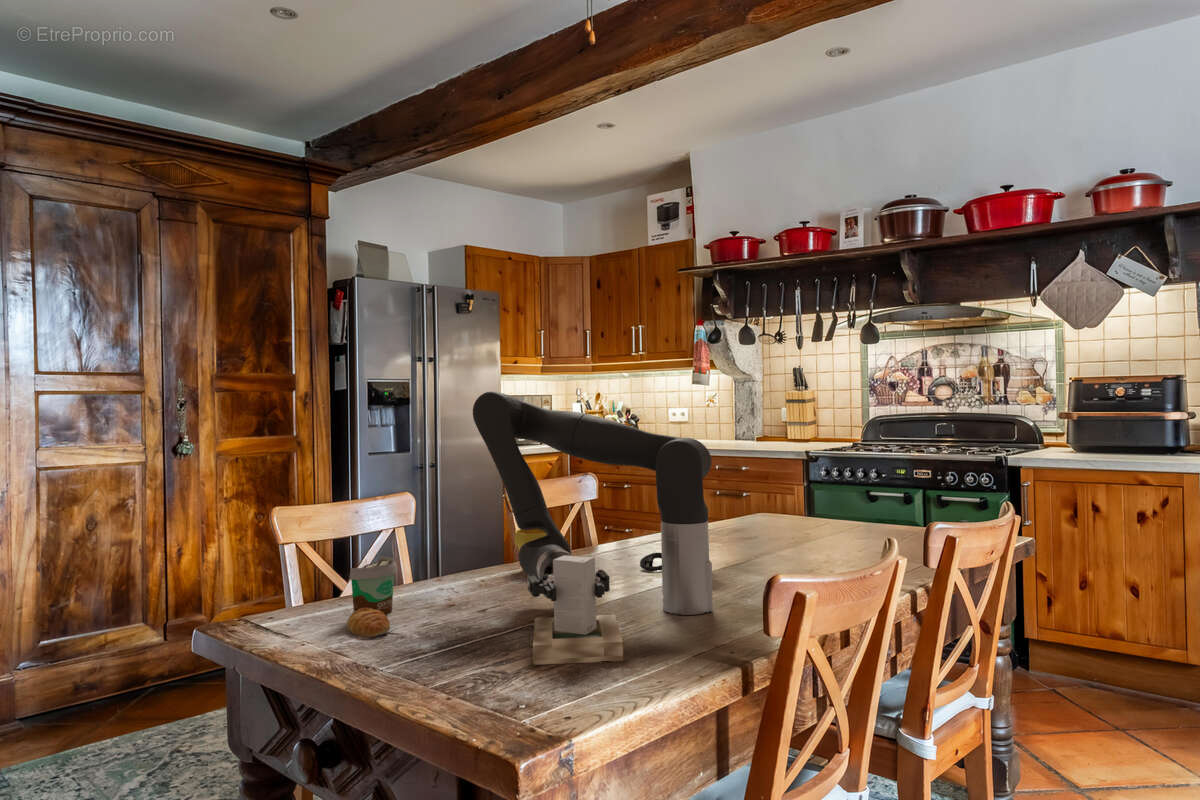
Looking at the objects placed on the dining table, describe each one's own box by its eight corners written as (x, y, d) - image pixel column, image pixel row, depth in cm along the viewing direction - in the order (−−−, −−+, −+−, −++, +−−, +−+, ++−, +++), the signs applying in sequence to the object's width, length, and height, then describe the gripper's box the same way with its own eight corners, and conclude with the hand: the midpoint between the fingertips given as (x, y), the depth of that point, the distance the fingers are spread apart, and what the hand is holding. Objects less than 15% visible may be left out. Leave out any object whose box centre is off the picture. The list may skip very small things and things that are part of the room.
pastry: (399, 634, 140) (399, 613, 140) (363, 642, 136) (362, 620, 136) (378, 624, 147) (377, 603, 147) (343, 631, 143) (342, 610, 143)
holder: (615, 631, 138) (614, 614, 138) (623, 661, 122) (622, 641, 122) (535, 634, 137) (535, 617, 137) (533, 664, 121) (532, 645, 121)
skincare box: (597, 628, 130) (596, 557, 130) (586, 636, 126) (584, 562, 126) (565, 624, 133) (563, 554, 133) (553, 631, 129) (551, 559, 129)
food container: (380, 622, 147) (379, 569, 148) (350, 621, 149) (349, 568, 149) (408, 605, 160) (407, 556, 160) (381, 604, 161) (380, 556, 161)
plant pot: (561, 566, 196) (560, 527, 196) (552, 575, 186) (551, 534, 186) (521, 565, 198) (521, 527, 198) (510, 574, 188) (509, 533, 188)
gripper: (520, 553, 142) (533, 573, 126) (596, 549, 145) (619, 567, 129) (520, 594, 142) (534, 619, 126) (597, 589, 145) (620, 612, 129)
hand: (577, 593), depth 128 cm, fingers closed on skincare box, 7 cm apart
